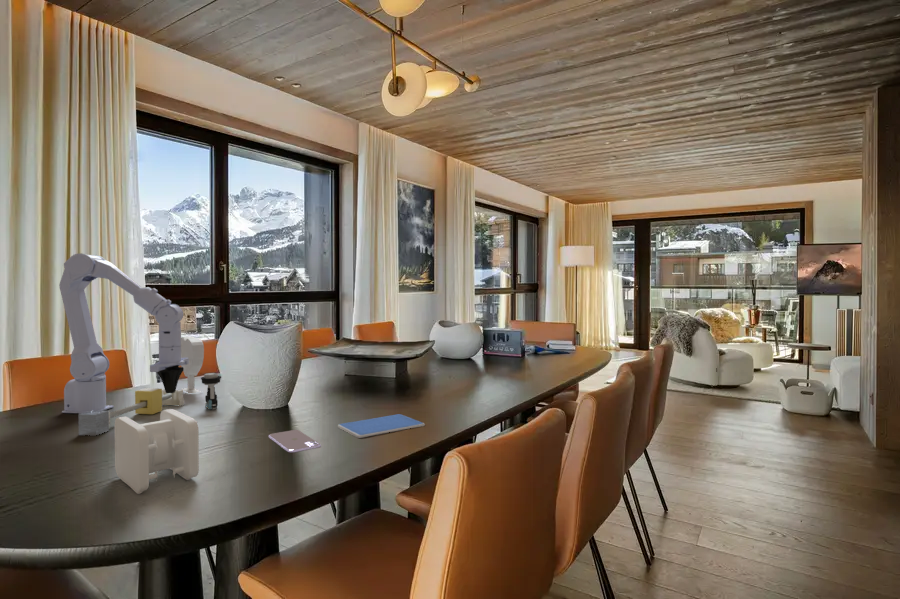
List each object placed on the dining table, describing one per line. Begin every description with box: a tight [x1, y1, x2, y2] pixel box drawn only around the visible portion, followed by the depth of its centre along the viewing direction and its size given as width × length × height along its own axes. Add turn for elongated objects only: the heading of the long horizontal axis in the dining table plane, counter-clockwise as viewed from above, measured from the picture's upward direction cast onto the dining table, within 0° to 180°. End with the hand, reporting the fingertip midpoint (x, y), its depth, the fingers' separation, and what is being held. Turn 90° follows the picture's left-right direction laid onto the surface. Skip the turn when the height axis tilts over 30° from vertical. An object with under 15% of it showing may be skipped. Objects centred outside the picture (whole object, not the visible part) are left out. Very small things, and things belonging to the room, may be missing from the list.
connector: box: [77, 410, 111, 437], centre depth 124 cm, size 4×5×5 cm
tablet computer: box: [337, 413, 426, 439], centre depth 132 cm, size 19×13×1 cm, turn 128°
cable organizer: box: [114, 408, 200, 495], centre depth 95 cm, size 15×11×12 cm
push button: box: [200, 372, 222, 410], centre depth 148 cm, size 7×5×10 cm
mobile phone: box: [268, 429, 322, 453], centre depth 118 cm, size 8×1×15 cm
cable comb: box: [162, 388, 185, 407], centre depth 151 cm, size 7×2×4 cm, turn 84°
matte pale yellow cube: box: [134, 387, 163, 415], centre depth 142 cm, size 5×4×6 cm
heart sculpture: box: [180, 336, 205, 393], centre depth 171 cm, size 16×5×18 cm, turn 43°
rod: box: [110, 393, 172, 419], centre depth 139 cm, size 1×27×1 cm, turn 174°
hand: (170, 392), depth 149 cm, fingers closed
